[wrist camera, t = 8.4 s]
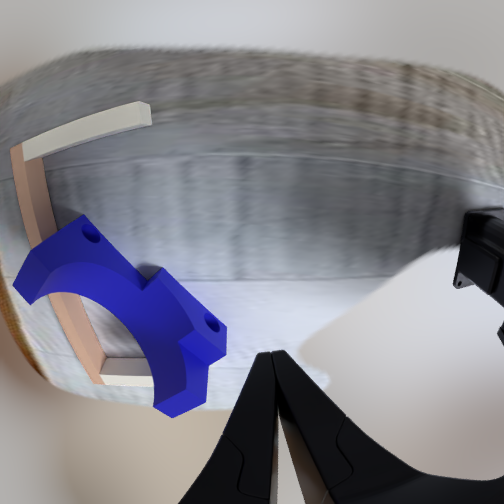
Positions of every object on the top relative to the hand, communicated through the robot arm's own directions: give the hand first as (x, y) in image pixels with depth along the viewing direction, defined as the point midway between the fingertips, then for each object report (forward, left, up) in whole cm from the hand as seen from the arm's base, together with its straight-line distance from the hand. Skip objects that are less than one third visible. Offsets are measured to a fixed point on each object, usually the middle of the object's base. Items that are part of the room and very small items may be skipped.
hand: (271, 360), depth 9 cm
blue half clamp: (+8, +2, -10) cm, 12 cm away
